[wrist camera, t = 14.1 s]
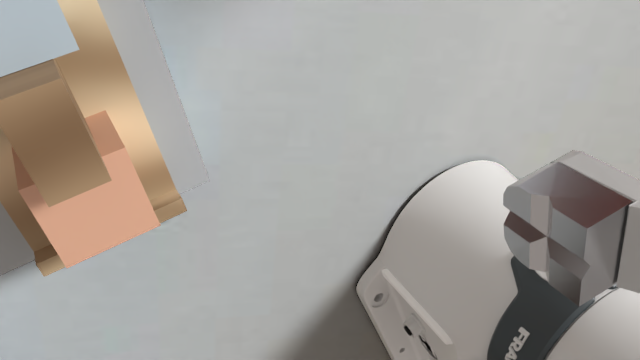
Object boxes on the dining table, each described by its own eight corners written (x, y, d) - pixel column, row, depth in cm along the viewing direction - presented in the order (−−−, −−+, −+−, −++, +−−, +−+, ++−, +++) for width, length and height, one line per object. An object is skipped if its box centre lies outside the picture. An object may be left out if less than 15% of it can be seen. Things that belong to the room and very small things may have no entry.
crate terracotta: (138, 182, 27) (160, 225, 24) (54, 218, 26) (66, 268, 23) (105, 110, 24) (125, 147, 21) (11, 145, 23) (18, 190, 20)
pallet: (174, 190, 29) (222, 268, 24) (39, 250, 27) (57, 351, 22) (26, -161, 20) (49, -163, 15) (-198, -111, 18) (-268, -90, 12)
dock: (195, 160, 32) (210, 180, 30) (-7, 249, 29) (-6, 277, 27) (62, -190, 22) (72, -193, 20) (-272, -117, 19) (-298, -112, 17)
